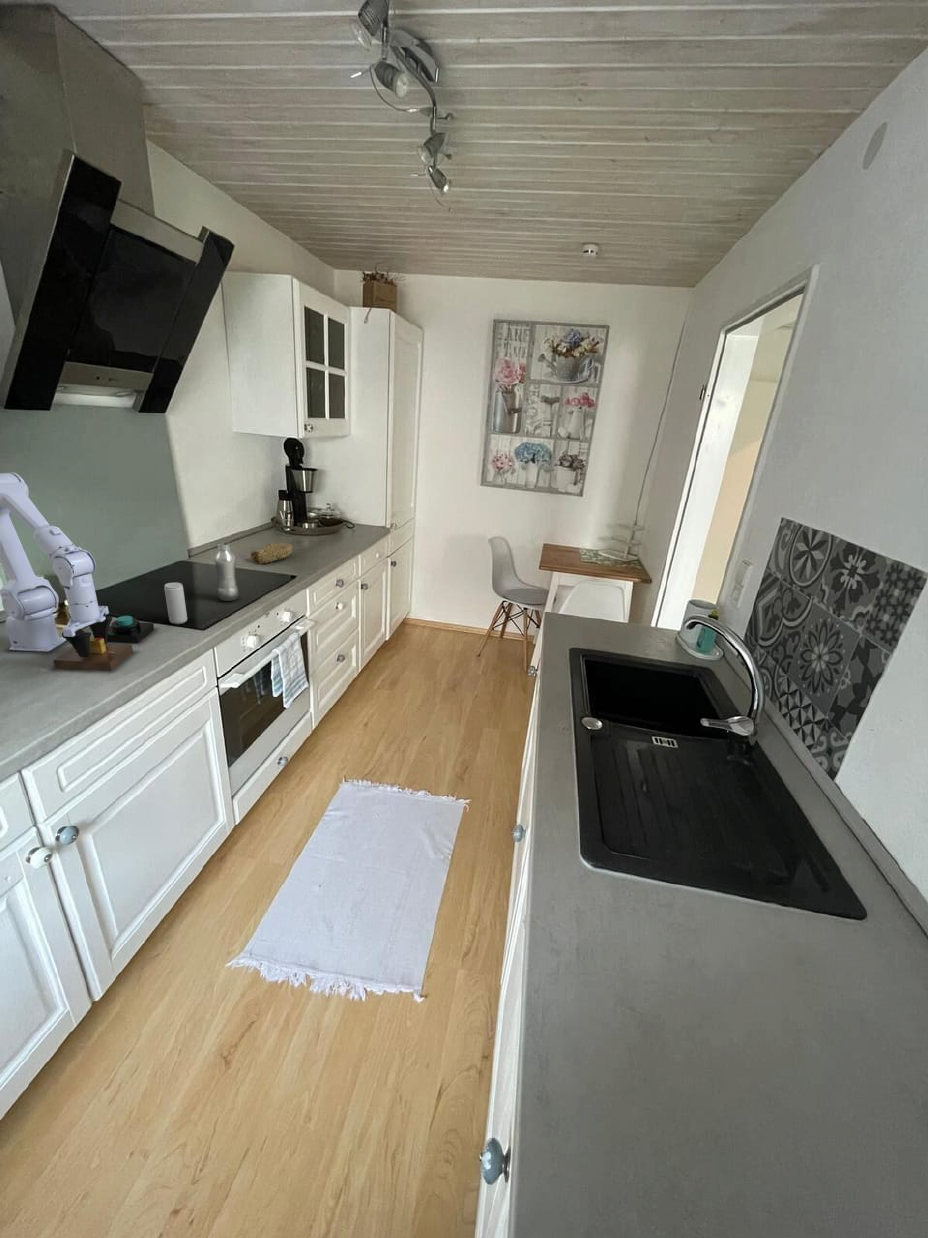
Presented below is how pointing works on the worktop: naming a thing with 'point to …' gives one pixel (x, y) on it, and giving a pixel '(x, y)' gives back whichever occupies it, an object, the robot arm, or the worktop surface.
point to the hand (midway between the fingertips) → (93, 650)
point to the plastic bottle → (226, 573)
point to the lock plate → (94, 658)
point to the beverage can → (175, 603)
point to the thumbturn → (97, 645)
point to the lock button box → (129, 632)
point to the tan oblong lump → (272, 552)
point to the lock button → (124, 620)
